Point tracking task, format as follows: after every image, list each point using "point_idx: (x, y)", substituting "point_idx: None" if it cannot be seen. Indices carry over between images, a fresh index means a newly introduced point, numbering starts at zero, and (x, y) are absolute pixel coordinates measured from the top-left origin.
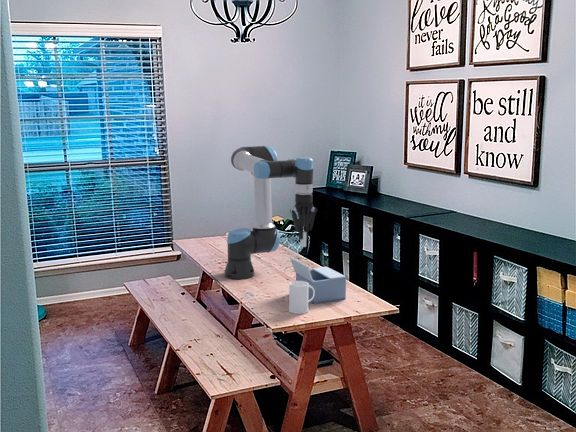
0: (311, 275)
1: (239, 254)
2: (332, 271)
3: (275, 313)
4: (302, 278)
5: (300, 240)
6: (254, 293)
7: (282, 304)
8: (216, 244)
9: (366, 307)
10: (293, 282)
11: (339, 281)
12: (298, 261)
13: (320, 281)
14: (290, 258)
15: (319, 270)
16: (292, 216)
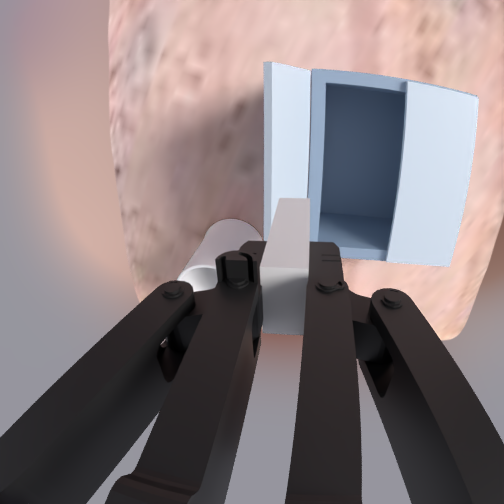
0: (388, 90)
1: None
2: (455, 182)
3: (164, 236)
4: (310, 140)
5: (274, 216)
6: (163, 34)
7: (208, 175)
8: None
9: (418, 308)
10: (200, 266)
11: None
12: (270, 175)
13: None
14: (265, 68)
15: (417, 134)
16: (16, 438)
